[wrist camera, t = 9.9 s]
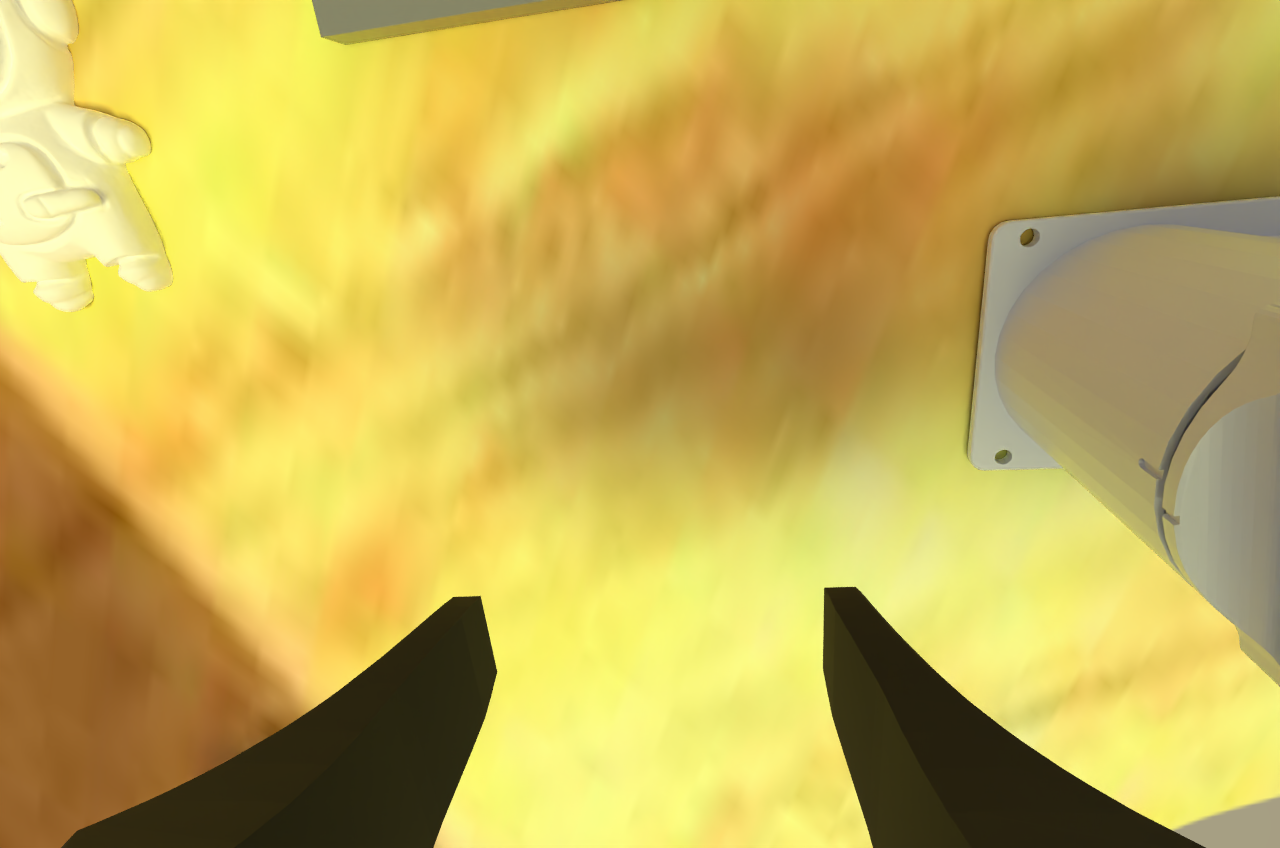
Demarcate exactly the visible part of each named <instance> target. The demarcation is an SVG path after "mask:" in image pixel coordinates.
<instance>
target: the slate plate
mask: <svg viewBox="0 0 1280 848" xmlns="http://www.w3.org/2000/svg"><path fill="white" fill-rule="evenodd" d="M613 1H620V0H312V2H313V6H314V10H315V14H316V18H317V22H318V26H319V30H320V34H321V37H322V38H325V39H329V40H332V41H335V42H338V43H341V44H352V43H358V42H364V41H370V40H377V39H383V38H389V37H395V36H402V35H408V34H414V33H420V32H426V31H433V30H439V29H445V28H451V27H458V26H464V25H470V24H476V23H483V22H489V21H495V20H501V19H507V18H514V17H520V16H526V15H532V14H539V13H545V12H551V11H557V10H564V9H570V8H576V7H582V6H588V5H595V4H601V3H607V2H613Z"/></svg>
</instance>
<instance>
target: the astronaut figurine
mask: <svg viewBox="0 0 1280 848" xmlns="http://www.w3.org/2000/svg"><path fill="white" fill-rule="evenodd" d="M77 36H78V19H77V15H76V11H75V8H74V5H73V2H72V0H0V254H1V256H2V257H3V259H4V260H5V262H6V263H7V265H8V266H9V268H10V269H11V270H12V271H13V273H14V274H15V275H16V276H17V277H18V279H19V280H20V281H22V282H37V286H36V287H35V289H34V294H35V295H36V296H37V297H38V298H40V299H41V300H43V301H44V302H47V303H49V304H51V305H52V306H53V307H55V308H56V309H58V310H61V311H65V312H74V311H78V310H81V309H83V308H84V307H86V306H87V305H88V304H90V303H91V302H92V301H93V299H94V294H93V291H92V284H91V279H90V275H89V271H88V267H87V263H86V260H85V259H89V258H93V257H96V258H97V259H98V260H99V261H100V262H101V263H102V264H103V265H104V266H106V267H110V266H114V265H119V270H118V274H119V276H120V277H121V278H122V279H123V280H125V281H127V282H129V283H131V284H134V285H136V286H137V287H139V288H140V289H142V290H145V291H157V290H161V289H164V288H167V287H169V286H170V285H171V284H172V282H173V273H172V269H171V266H170V263H169V261H168V259H167V257H166V253H165V249H164V246H163V243H162V240H161V238H160V235H159V233H158V231H157V229H156V226H155V224H154V222H153V220H152V218H151V216H150V214H149V212H148V210H147V208H146V206H145V204H144V203H143V201H142V199H141V197H140V195H139V193H138V191H137V189H136V187H135V185H134V183H133V181H132V179H131V177H130V175H129V173H128V171H127V168H126V163H130V162H134V161H136V160H138V159H139V158H141V157H145V156H147V155H149V154H150V152H151V144H150V140H149V138H148V136H147V134H146V132H145V131H144V130H143V129H142V128H141V127H139V126H138V125H136V124H134V123H132V122H130V121H128V120H125V119H121V118H116V117H114V116H112V115H109V114H105V113H102V112H100V111H96V110H91V109H86V108H81V107H77V106H75V104H74V64H73V59H72V55H71V53H70V51H69V50H68V48H67V45H68V44H69V43H74V42H75V41H76V39H77Z"/></svg>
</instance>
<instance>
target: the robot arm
mask: <svg viewBox="0 0 1280 848" xmlns="http://www.w3.org/2000/svg"><path fill="white" fill-rule="evenodd" d="M1030 228H1031V229H1032V230H1033V232H1034V237H1033V240H1032V241H1031V242H1030V243H1029V244H1027V245H1024V246H1023V245H1022V244H1021V243H1020V237H1021V234H1022V233H1023V232H1024V231H1025V230H1027V229H1030ZM1001 450H1007V454H1006V456H1005V457H1003V458H1001V459H995V455H996V453H998V452H999V451H1001ZM967 455H968V459H969V461H970V462H971V464H972V465H973V466H974V467H975V468H977V469H979V470H1021V469H1057V468H1064V469H1065V470H1066V471H1067V472H1068V473H1069V474H1070V475H1071V476H1072V477H1074V478H1075V479H1076V480H1077V481H1078V482H1079V483H1080V484H1081V485H1082V486H1083V487H1084V488H1085V489H1087V490H1088V491H1089V492H1090V493H1091V494H1092V495H1093V496H1094V497H1095V498H1096V499H1097V500H1098V501H1100V502H1101V503H1102V504H1103V505H1104V506H1105V507H1106V508H1107V509H1108V510H1109V511H1110V512H1111V513H1113V514H1114V515H1115V516H1116V517H1117V518H1118V519H1119V520H1120V521H1121V522H1122V523H1123V524H1124V525H1126V526H1127V527H1128V528H1129V529H1130V530H1131V531H1132V532H1133V533H1134V534H1135V535H1136V536H1137V537H1139V538H1140V539H1141V540H1142V541H1143V542H1144V543H1145V544H1146V545H1147V546H1148V547H1149V548H1150V549H1152V550H1153V551H1154V552H1155V553H1156V554H1157V555H1158V556H1159V557H1160V558H1161V559H1162V560H1163V561H1165V562H1166V563H1167V564H1168V565H1169V566H1170V567H1171V568H1172V569H1173V570H1174V571H1175V572H1176V573H1178V574H1179V575H1180V576H1181V577H1182V578H1183V579H1184V580H1185V581H1186V582H1187V583H1188V584H1190V585H1191V586H1192V587H1194V588H1195V589H1196V591H1197V592H1198V593H1199V594H1200V595H1201V596H1202V597H1204V598H1205V599H1206V600H1207V601H1208V602H1209V603H1210V604H1211V605H1212V606H1213V607H1214V608H1216V609H1217V610H1218V611H1219V612H1220V613H1221V614H1222V615H1223V616H1225V617H1226V618H1227V619H1228V620H1229V621H1231V622H1232V623H1233V624H1234V625H1235V627H1236V629H1237V631H1238V634H1239V641H1240V648H1241V650H1242V651H1243V652H1244V653H1245V654H1246V655H1247V656H1248V657H1249V658H1250V659H1251V660H1252V661H1253V662H1255V663H1256V664H1257V665H1258V666H1259V667H1260V668H1261V669H1262V670H1263V671H1264V672H1265V673H1266V674H1267V675H1268V676H1269V677H1270V678H1271V679H1272V680H1273V681H1274V682H1276V683H1277V684H1278V685H1279V686H1280V196H1275V197H1264V198H1253V199H1242V200H1231V201H1220V202H1209V203H1198V204H1187V205H1175V206H1164V207H1153V208H1142V209H1131V210H1120V211H1109V212H1098V213H1087V214H1075V215H1064V216H1053V217H1042V218H1031V219H1020V220H1009V221H1005V222H1001V223H1000V224H998V225H997V226H995V227H994V229H993V230H992V231H991V233H990V235H989V239H988V247H987V257H986V267H985V278H984V288H983V298H982V309H981V319H980V329H979V339H978V350H977V360H976V370H975V380H974V391H973V401H972V411H971V421H970V432H969V442H968V452H967ZM823 671H824V676H825V681H826V687H827V692H828V697H829V702H830V707H831V712H832V717H833V720H834V723H835V727H836V730H837V733H838V736H839V739H840V743H841V746H842V749H843V752H844V755H845V758H846V762H847V765H848V768H849V771H850V774H851V777H852V780H853V784H854V787H855V790H856V793H857V796H858V799H859V802H860V805H861V809H862V812H863V815H864V818H865V821H866V824H867V827H868V831H869V834H870V838H871V842H872V845H873V848H1205V847H1203V846H1201V845H1199V844H1197V843H1195V842H1194V841H1192V840H1190V839H1188V838H1185V837H1184V836H1182V835H1180V834H1178V833H1176V832H1174V831H1172V830H1170V829H1168V828H1166V827H1164V826H1162V825H1160V824H1158V823H1156V822H1154V821H1152V820H1151V819H1149V818H1147V817H1145V816H1143V815H1141V814H1139V813H1137V812H1135V811H1133V810H1132V809H1130V808H1128V807H1126V806H1125V805H1123V804H1121V803H1119V802H1118V801H1116V800H1114V799H1112V798H1111V797H1109V796H1107V795H1106V794H1104V793H1102V792H1100V791H1099V790H1097V789H1095V788H1093V787H1092V786H1090V785H1088V784H1087V783H1085V782H1083V781H1082V780H1080V779H1079V778H1077V777H1075V776H1074V775H1072V774H1071V773H1069V772H1067V771H1066V770H1064V769H1062V768H1061V767H1059V766H1058V765H1056V764H1055V763H1053V762H1052V761H1050V760H1049V759H1047V758H1046V757H1044V756H1043V755H1041V754H1040V753H1038V752H1037V751H1035V750H1034V749H1033V748H1031V747H1030V746H1028V745H1027V744H1025V743H1024V742H1022V741H1021V740H1019V739H1018V738H1017V737H1015V736H1014V735H1012V734H1011V733H1010V732H1008V731H1007V730H1006V729H1004V728H1003V727H1002V726H1000V725H999V724H998V723H996V722H995V721H994V720H993V719H991V718H990V717H989V716H987V715H986V714H985V713H983V712H982V711H981V710H980V709H978V708H977V707H976V706H974V705H973V704H972V703H971V702H970V701H968V700H967V699H966V698H965V697H964V696H963V695H961V694H960V693H959V692H958V691H957V690H956V689H955V688H954V687H952V686H951V685H950V684H949V683H948V682H947V681H946V680H945V679H944V678H942V677H941V676H940V675H939V674H938V673H937V672H936V671H935V670H934V669H933V668H932V667H931V666H930V665H929V664H928V663H927V662H926V661H925V660H924V659H923V658H922V657H921V656H920V655H919V654H918V653H917V652H916V651H915V650H914V649H913V648H912V647H911V646H910V645H909V644H908V643H907V642H906V641H905V640H904V639H903V638H902V637H901V636H900V635H899V634H898V633H897V632H896V631H895V630H894V629H893V628H892V627H891V625H890V624H889V623H888V622H887V621H886V620H885V619H884V618H883V617H882V616H881V614H880V613H879V612H878V611H877V610H876V609H875V608H874V606H873V605H872V604H871V603H870V602H869V601H868V600H867V598H866V597H865V596H864V595H863V594H862V593H861V592H860V591H859V590H858V589H857V588H856V587H834V588H824V640H823ZM496 674H497V669H496V664H495V660H494V655H493V651H492V646H491V642H490V637H489V632H488V628H487V623H486V619H485V614H484V610H483V605H482V601H481V596H472V597H453V598H452V599H450V600H449V601H448V602H446V603H445V604H444V605H443V606H441V607H440V608H439V609H438V610H437V611H435V612H434V613H433V614H432V615H431V616H430V617H428V618H427V619H426V620H425V621H424V622H423V623H421V624H420V625H419V626H418V627H417V628H416V629H414V630H413V631H412V632H411V633H410V634H409V635H407V636H406V637H405V638H404V639H403V640H401V641H400V642H399V643H398V644H397V645H395V646H394V647H393V648H392V649H391V650H390V651H388V652H387V653H386V654H385V655H384V656H382V657H381V658H380V659H379V660H377V661H376V662H375V663H374V664H372V665H371V666H370V667H369V668H367V669H366V670H365V671H363V672H362V673H361V674H360V675H358V676H357V677H356V678H354V679H353V680H352V681H351V682H349V683H348V684H347V685H345V686H344V687H343V688H342V689H340V690H339V691H338V692H336V693H335V694H333V695H332V696H331V697H329V698H328V699H327V700H325V701H324V702H322V703H321V704H319V705H318V706H317V707H315V708H314V709H312V710H311V711H309V712H308V713H306V714H305V715H303V716H302V717H300V718H299V719H297V720H296V721H294V722H292V723H291V724H289V725H288V726H286V727H285V728H283V729H282V730H280V731H278V732H277V733H275V734H273V735H271V736H270V737H268V738H266V739H265V740H263V741H261V742H259V743H258V744H256V745H254V746H253V747H251V748H249V749H247V750H246V751H244V752H242V753H241V754H239V755H237V756H235V757H234V758H232V759H230V760H228V761H227V762H225V763H223V764H221V765H219V766H217V767H215V768H213V769H211V770H210V771H208V772H206V773H204V774H202V775H200V776H198V777H196V778H194V779H192V780H190V781H188V782H186V783H184V784H182V785H180V786H178V787H176V788H174V789H172V790H170V791H168V792H165V793H163V794H161V795H159V796H157V797H155V798H153V799H150V800H148V801H146V802H144V803H141V804H139V805H137V806H134V807H132V808H130V809H127V810H125V811H123V812H121V813H118V814H116V815H114V816H111V817H109V818H107V819H104V820H102V821H100V822H97V823H95V824H93V825H90V826H88V827H85V828H83V829H80V830H78V831H77V832H75V834H74V835H73V836H72V837H71V838H70V839H69V840H68V841H67V842H66V843H65V844H64V845H63V846H62V847H61V848H433V847H434V844H435V841H436V839H437V836H438V833H439V831H440V828H441V825H442V822H443V820H444V817H445V815H446V813H447V810H448V808H449V805H450V803H451V800H452V798H453V796H454V793H455V791H456V788H457V786H458V783H459V781H460V779H461V776H462V774H463V771H464V769H465V766H466V764H467V762H468V759H469V757H470V754H471V752H472V749H473V747H474V744H475V742H476V739H477V737H478V734H479V732H480V729H481V727H482V724H483V722H484V719H485V716H486V712H487V709H488V705H489V702H490V698H491V694H492V690H493V686H494V682H495V678H496Z"/></svg>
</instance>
